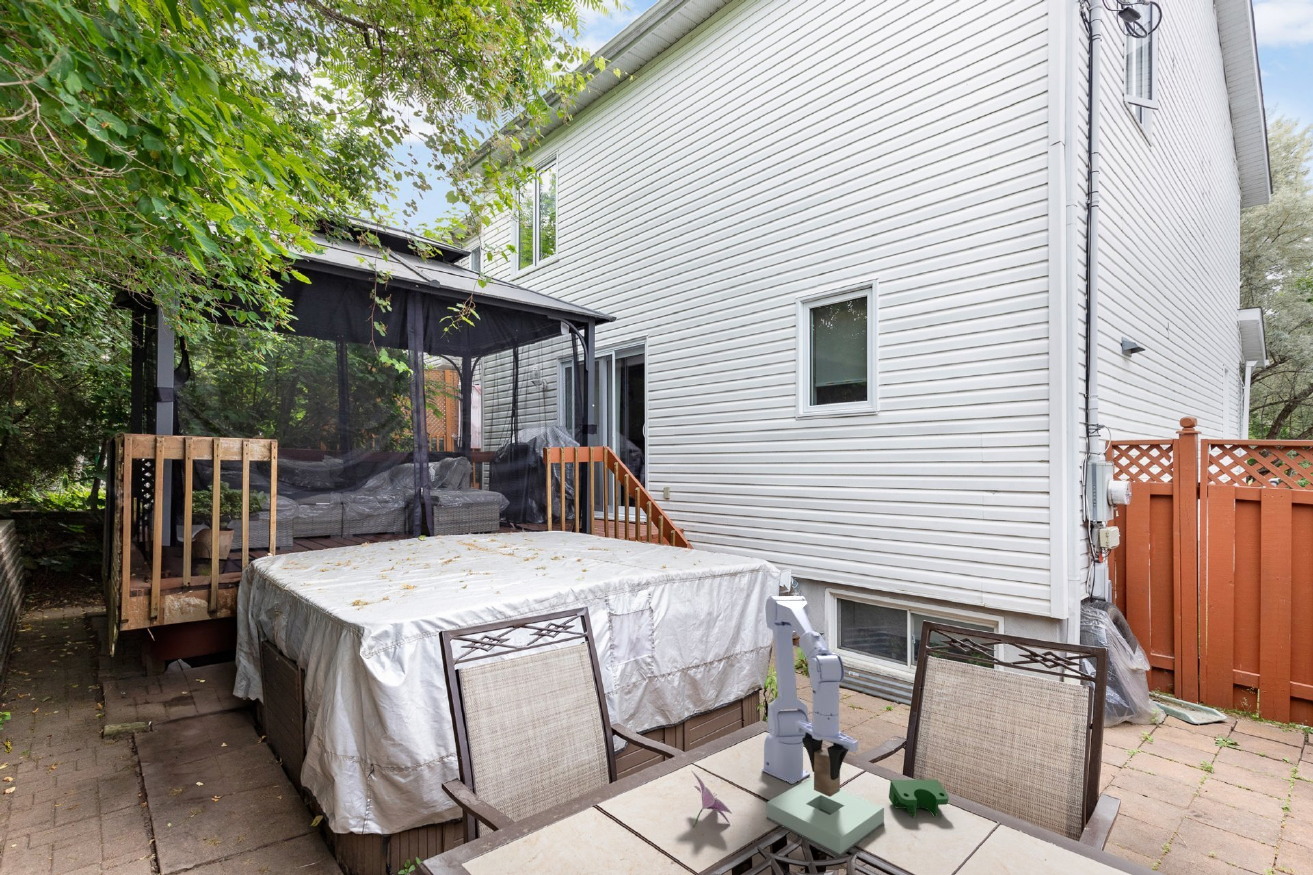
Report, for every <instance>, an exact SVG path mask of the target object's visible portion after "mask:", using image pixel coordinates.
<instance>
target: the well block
mask: <svg viewBox="0 0 1313 875" xmlns="http://www.w3.org/2000/svg"><path fill="white" fill-rule="evenodd" d="M765 816H766V817H765V819H766V820H768V821H771V822H772V823H774V824H776V825H778V826H780V825H782V826H784V827H785V828H786V829H785V828H784V829H785V830H787V829H788V832H792V833H794V834H795V835H797V836H799V835H801V836H803V837H804V838H803V837H802V838H803V839H805V838H806V839H805V840H806V841H809V842H811V843H812V844H815V846H816V845H817V846H819V847H820V848H823V850H827V851H828V852H830V853H832V854H835V855H836V856H838V857H840V856H841V855H842V856H843V855H845V854H846V853H847V852H849V851H850V850H851V849H852V848H851V847H852V846H854V847H856V845H858V844H859V843H861V842H862V841H864V840H865V839H866V838H867V837H869V836H870V835H871V834H872V833H874V832H875V831H876V829H877V830H878V829H880V828H881V827H882V826H883V825H885V807H884V806H883V805H880V804H877V803H874V802H873V801H871V800H869V799H866V798H863V797H860V796H859V795H856V794H854V793H851V792H849V791H847V790H844V789H842V788H840V791H839V792H838V793H836V794H834V795H832V796H831V797H829V796H827V795H824V794H822V793H820V792H818V791H815V790H814V776H811V777H810V778H808V779H806V780H804V781H802V782H801V783H799V784H797V785H795V786H793V787H791V788H790V789H788V790H786V791H784V792H782V793H781V794H779V795H777V796H776V797H774V798H771V799H769V800H768V801H766V815H765ZM782 826H781V827H782ZM801 836H800V837H801ZM850 848H851V849H850ZM849 849H850V850H849ZM848 850H849V851H848ZM844 853H845V854H844ZM842 856H841V857H842Z"/></svg>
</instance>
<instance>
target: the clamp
mask: <svg viewBox="0 0 1313 875" xmlns="http://www.w3.org/2000/svg"><path fill="white" fill-rule="evenodd" d="M888 792H889V793H888V799H889V801H890V802H891V805H892V806H893V808H895V807H906V808H905V809H906V810H907V811H908V813H909V815H910V814H911V815H910V817H912V818H916V814H917V813H916V811H917V808H916V807H923V808H922V809H925V810H927V811H929V812H930V813H931V814H932V816H933V815H934V816H933V817H934V818H937V817H938V816H937V815H938V808H939V805H940V806H944V805H948V804H949V794H948V793H947V791H946V789H945V788H944V786H942V784H941V783H940V782H939V780H938V779H894V780H893V779H891V780H890V784H889V791H888ZM936 816H937V817H936Z"/></svg>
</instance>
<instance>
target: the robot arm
mask: <svg viewBox="0 0 1313 875" xmlns="http://www.w3.org/2000/svg"><path fill="white" fill-rule="evenodd" d="M764 608H765V609H764V610H765V622H766V627H767V628H768V629H769V630H771V631H772V636H773V637H772V638H773V646H774V647H773V648H774V660H775V661H774V662H775V663H774V664H775V673H776V676H775V677H776V688H777V697H776V698H774V700H772V701H771V702H770V703H769V705H768V706H767V707H768V708H767V719H766V720H767V721H766V722H767V723H766V724H767V729H768V734H767V736H766V737H765V739H764V744H763V767H762V768H761V771H762V772H764V773H766V774H768V775H771V776H773V777H775V778H777V779H779V780H781V781H784V782H786V781H787V782H786V783H788V782H789V784H790V785H795V784H797V783H798V782H800V781H802V780H803V779H805V778H807V777H809V776H810V775H811V772H810V771H807V770H805V769H804V747H805V750H806V752H807V754H808V755H807V756H808V758H809V761H810V765H811V769H812V770H811V771H812V772H813V773H814V752H816V751H818V750H820V749H822V748H823V747H822V746H823V742H824V741H826V742H828V743H830V744H832V745H830V746H828V747H827V750H828V754H829V759H830V776H831V779H832V780H835V779H837V778H838V777H839V772H840V773H841V769H842V768H841V767H842V765H843V762H844V759H845V757H846V756H847V754H848V752H851V753H855V752H857V751H858V750H859V740H857V739H855V738H852V737H851V736H849V735H847V734H845V733H843V732H841V731H840V683H841V682H843V681H844V678H845V665H844V662H843V659H842V658H841V656H840V655H839V654H838V653H835V651H834V652H833V651H831V649H830V648H829V646H828V645H827V643H826V642H825V640H824V638H823V636H822V634H821V633H820V632H818V631H814V628H813V625H812V623H811V622H810V620H809V604H808V600H807V599H806V598H805V596H803V595H796V596H795V595H794V596H793V595H792V596H790V595H789V596H774V595H769V596H768V597H767V599H766V602H765V606H764ZM794 631H795V632H796V634H797V636H798V637H799V641H798V646H799V648H800V650H801V652H802V653H803V655H804V657H805V659H806V661H807V670H808V676H809V685H810V689H811V690H812V701H811V702H812V709H811V710H812V712H811V713H812V715H811V716H812V717H811V716H810V714H809V710H808V705H807V704H806V703H805V702H803V701H802V700H801V699H800V698H798V692H797V691H798V690H797V679H796V678H797V676H796V667H795V656H794V655H795V654H794V645H793V644H794V643H793V642H794V641H793V633H794ZM810 717H811V718H812V722H811V718H810ZM808 775H809V776H808ZM797 781H798V782H797Z"/></svg>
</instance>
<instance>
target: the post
mask: <svg viewBox="0 0 1313 875" xmlns="http://www.w3.org/2000/svg"><path fill="white" fill-rule="evenodd" d="M827 748H828V747H827ZM827 748H826V747H822V748H821V749H820V750H818V751H816V752H814V772H813V777H814V790H815V791H818V792H820V793H822V794H824V795H827V796H829V797H831V796H832V795H834V794H836V793H838V792H839V791H840V789H841V771H840V772H839V777H838V778H837V779H835V780H832V779H831V776H830V759H829V754H828V750H827Z"/></svg>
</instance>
